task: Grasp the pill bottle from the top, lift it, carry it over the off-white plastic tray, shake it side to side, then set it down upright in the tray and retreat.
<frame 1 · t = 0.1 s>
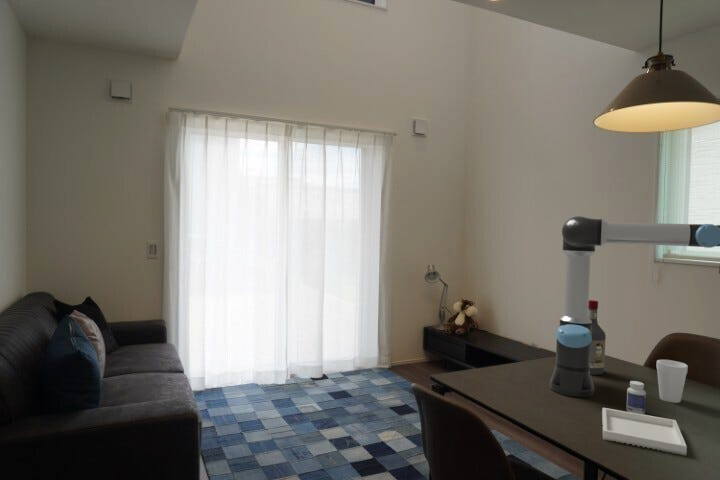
pill bottle: (635, 412, 160), on the table
tray: (640, 433, 143), on the table
foam cup: (669, 400, 173), on the table
liquor: (590, 372, 204), on the table
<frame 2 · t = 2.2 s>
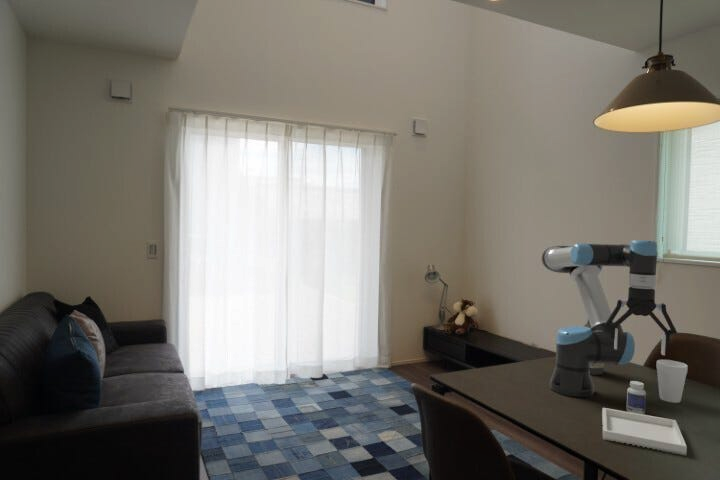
hand: (638, 351, 159), 20 cm above the table, tool pointing down, fingers open, 13 cm apart
nothing on the table moved.
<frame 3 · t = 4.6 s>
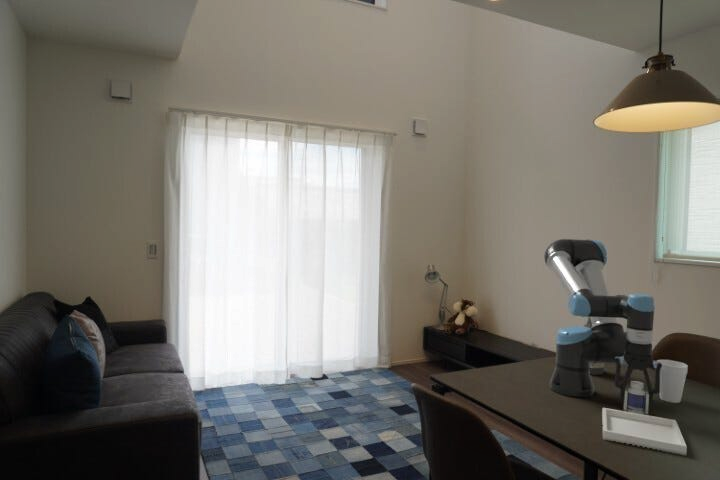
hand: (635, 410, 160), 0 cm above the table, tool pointing down, fingers closed on pill bottle, 5 cm apart
pill bottle: (635, 412, 160), on the table, touching gripper
everything else where it was.
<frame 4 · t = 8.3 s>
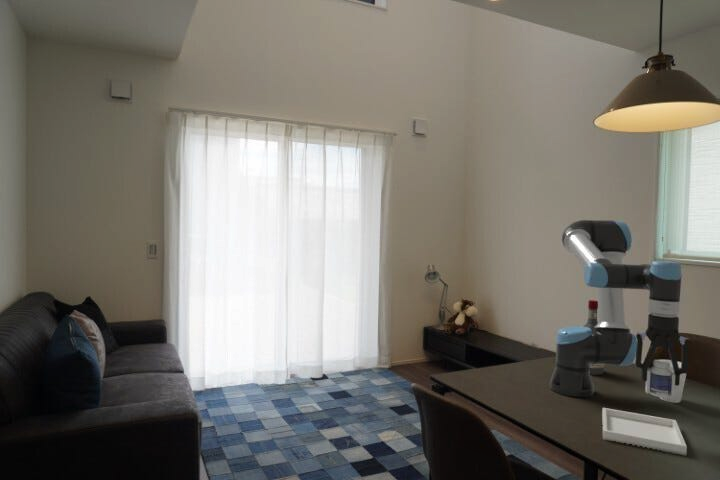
hand: (659, 393, 141), 13 cm above the table, tool pointing down, fingers closed on pill bottle, 5 cm apart
pill bottle: (659, 395, 141), point 12 cm above the table, touching gripper
everything else where it was.
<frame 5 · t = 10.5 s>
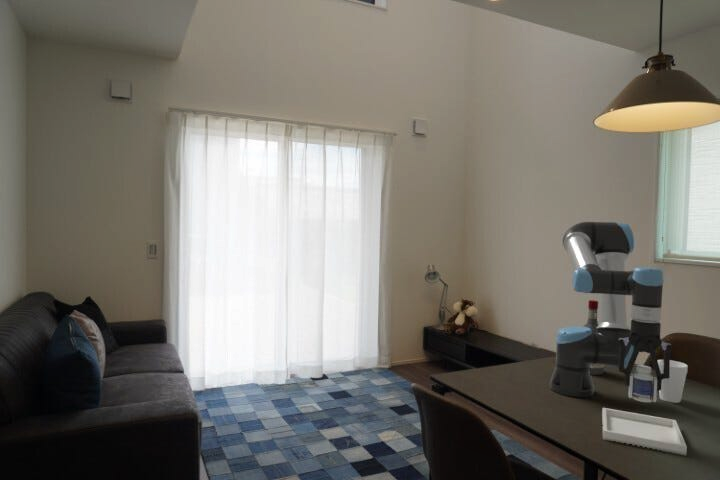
hand: (642, 398, 142), 11 cm above the table, tool pointing down, fingers closed on pill bottle, 5 cm apart
pill bottle: (642, 400, 142), point 10 cm above the table, touching gripper
everything else where it was.
when the fingers open (2 cm above the table, at t = 12.1 s): pill bottle drops 1 cm, resting on tray.
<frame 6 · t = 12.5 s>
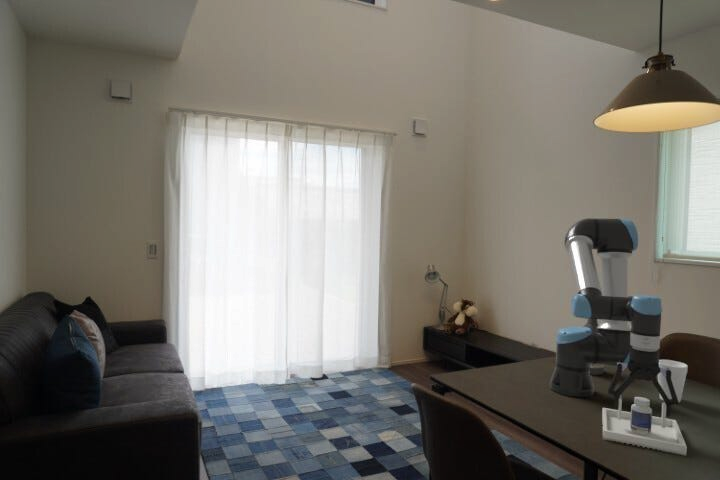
hand: (640, 422, 143), 3 cm above the table, tool pointing down, fingers open, 10 cm apart
pill bottle: (640, 432, 143), resting on tray
everything else where it was.
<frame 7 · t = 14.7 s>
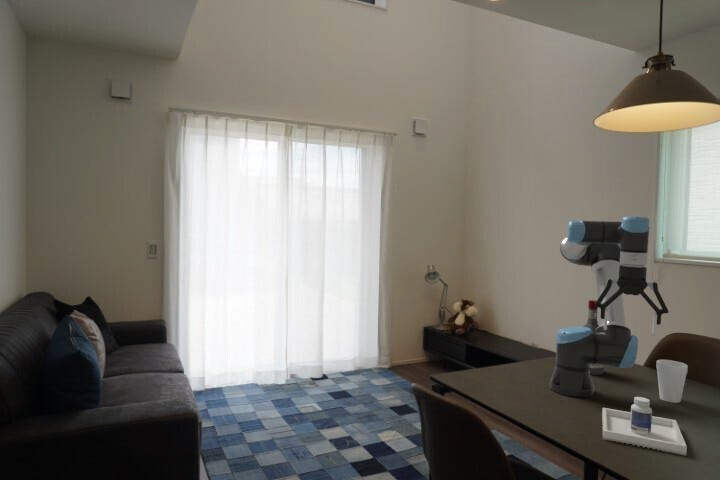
hand: (629, 331, 154), 28 cm above the table, tool pointing down, fingers open, 13 cm apart
nothing on the table moved.
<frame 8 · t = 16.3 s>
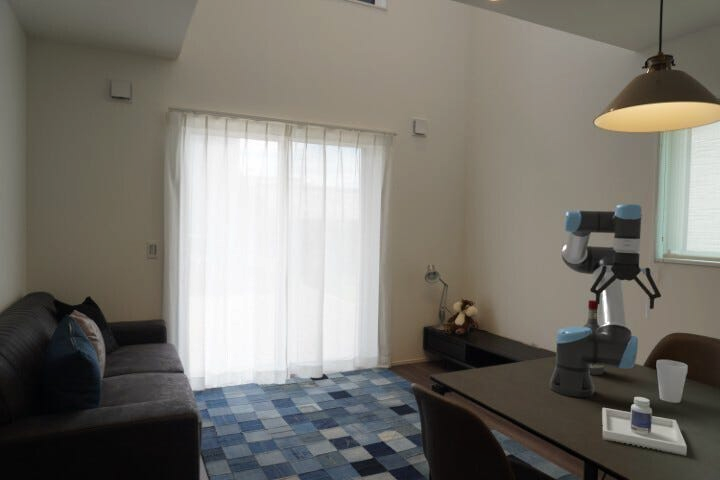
hand: (623, 316, 158), 32 cm above the table, tool pointing down, fingers open, 13 cm apart
nothing on the table moved.
at the end: pill bottle inside the target area on the tray (0.1 cm from its centre), point 0.4 cm above the tray's base; pill bottle tilted 0°; the gripper is holding nothing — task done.
